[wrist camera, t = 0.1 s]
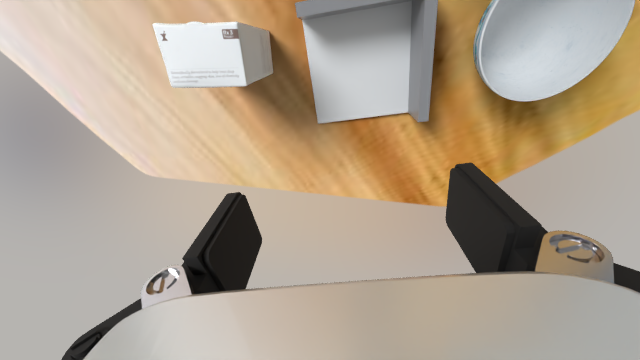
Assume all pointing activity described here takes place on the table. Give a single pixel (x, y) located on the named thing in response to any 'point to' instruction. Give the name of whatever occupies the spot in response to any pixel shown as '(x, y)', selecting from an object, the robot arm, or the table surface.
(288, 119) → the table surface
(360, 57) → the corner jig
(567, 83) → the chinaware
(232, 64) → the skincare box
